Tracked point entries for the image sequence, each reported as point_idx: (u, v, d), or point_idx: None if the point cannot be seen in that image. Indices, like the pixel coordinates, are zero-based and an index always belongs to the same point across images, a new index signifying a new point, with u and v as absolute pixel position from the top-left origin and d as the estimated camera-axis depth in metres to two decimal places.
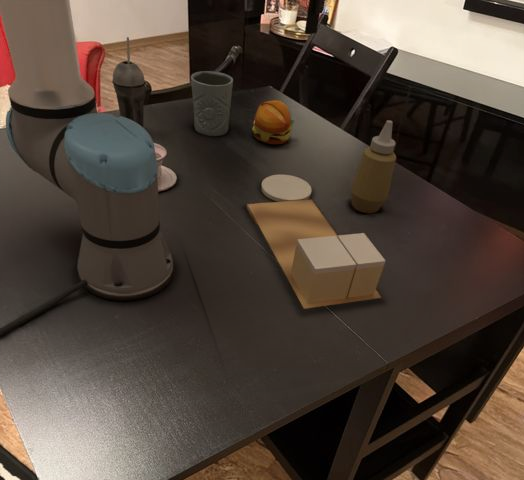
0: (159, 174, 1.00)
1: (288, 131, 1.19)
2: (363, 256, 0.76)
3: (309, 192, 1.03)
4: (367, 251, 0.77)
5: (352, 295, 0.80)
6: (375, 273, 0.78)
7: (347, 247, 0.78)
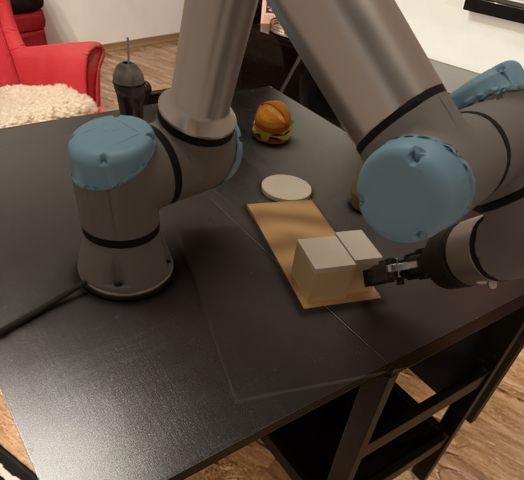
0: None
1: (288, 131, 1.19)
2: (360, 252, 0.77)
3: (309, 192, 1.03)
4: (364, 247, 0.78)
5: (349, 291, 0.80)
6: None
7: (344, 243, 0.78)
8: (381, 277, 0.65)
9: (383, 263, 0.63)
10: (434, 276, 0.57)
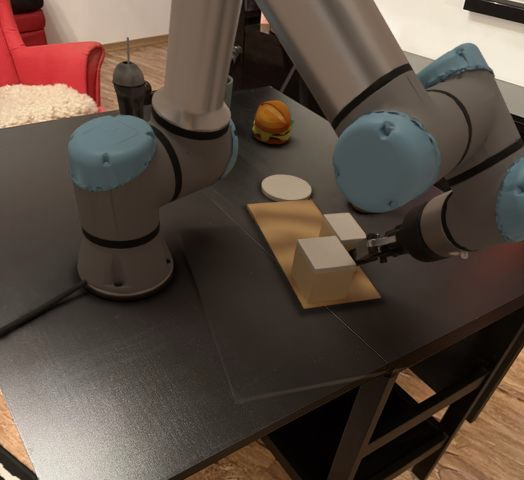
0: None
1: (288, 131, 1.19)
2: (347, 233, 0.81)
3: (309, 192, 1.03)
4: (351, 229, 0.82)
5: None
6: None
7: (332, 225, 0.82)
8: (363, 253, 0.69)
9: (365, 239, 0.67)
10: (411, 249, 0.60)
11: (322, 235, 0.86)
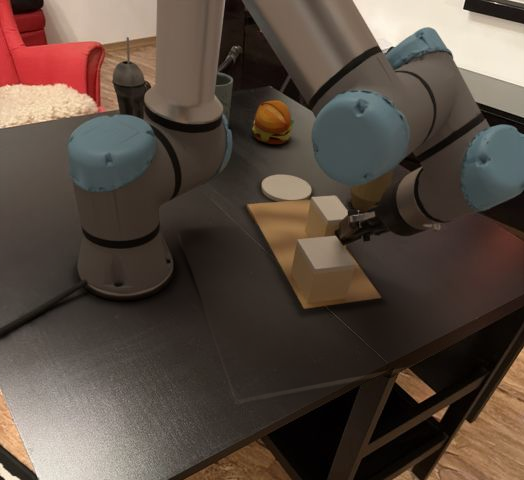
0: None
1: (288, 131, 1.19)
2: (333, 214, 0.84)
3: (309, 192, 1.03)
4: (337, 210, 0.85)
5: None
6: None
7: (319, 206, 0.86)
8: (346, 230, 0.72)
9: (347, 216, 0.70)
10: (388, 223, 0.64)
11: (310, 217, 0.90)
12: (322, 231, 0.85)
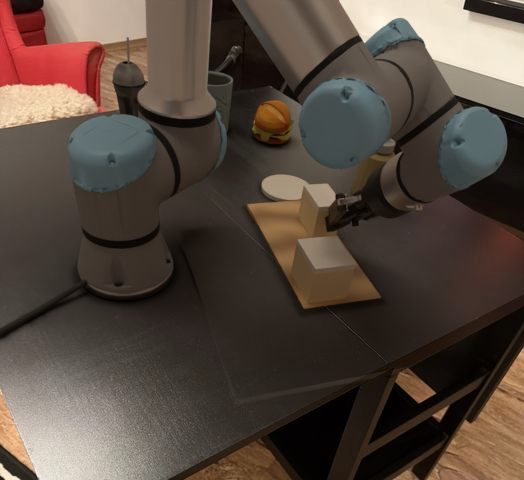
0: None
1: (288, 131, 1.19)
2: (324, 201, 0.87)
3: None
4: (328, 197, 0.88)
5: (316, 237, 0.91)
6: None
7: (311, 194, 0.88)
8: (334, 214, 0.75)
9: (335, 200, 0.73)
10: (374, 205, 0.67)
11: (302, 204, 0.92)
12: (314, 217, 0.88)
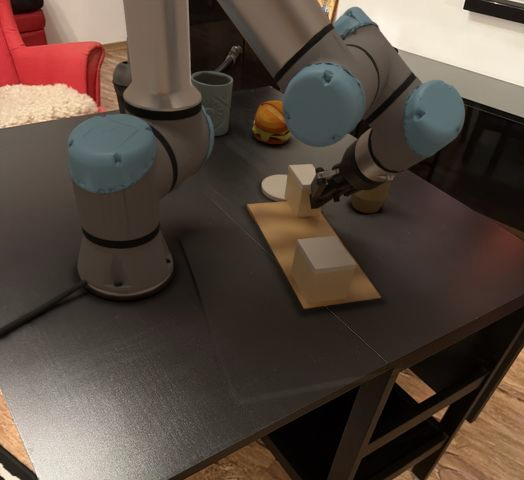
0: None
1: (288, 131, 1.19)
2: (308, 179, 0.92)
3: None
4: (312, 176, 0.93)
5: (301, 215, 0.96)
6: None
7: (295, 173, 0.94)
8: (315, 188, 0.80)
9: (316, 175, 0.78)
10: (350, 177, 0.72)
11: (288, 184, 0.98)
12: (298, 195, 0.93)
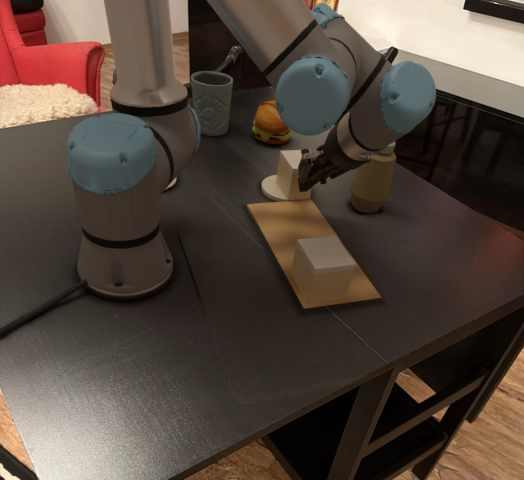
0: None
1: (288, 131, 1.19)
2: (298, 164, 0.96)
3: None
4: None
5: (291, 198, 1.00)
6: None
7: (286, 158, 0.98)
8: (302, 170, 0.84)
9: None
10: (333, 157, 0.76)
11: (279, 169, 1.02)
12: (289, 179, 0.97)
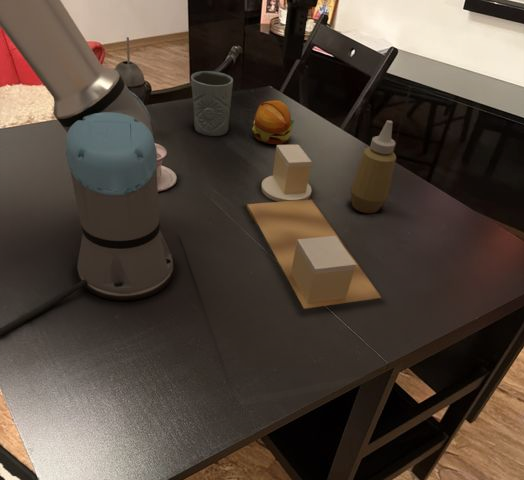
0: (159, 174, 1.00)
1: (288, 131, 1.19)
2: (294, 158, 0.98)
3: (309, 192, 1.03)
4: (298, 155, 0.99)
5: (287, 192, 1.01)
6: (304, 172, 0.99)
7: (282, 152, 0.99)
8: None
9: None
10: None
11: (276, 163, 1.03)
12: (285, 173, 0.99)
